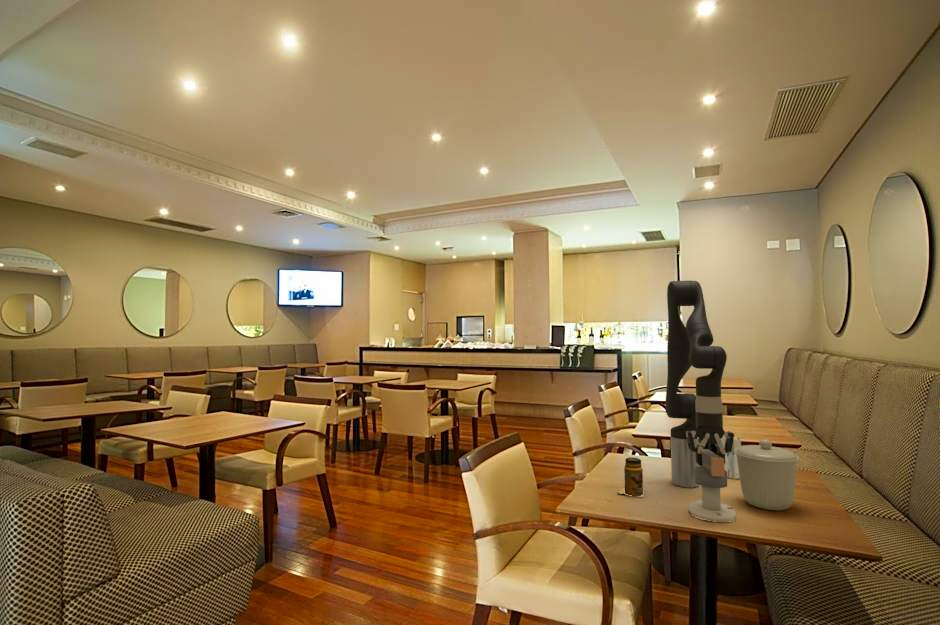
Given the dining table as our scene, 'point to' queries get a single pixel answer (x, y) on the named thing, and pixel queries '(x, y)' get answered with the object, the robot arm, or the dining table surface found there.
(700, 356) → the robot arm
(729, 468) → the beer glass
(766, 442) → the canister
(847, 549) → the dining table surface
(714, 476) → the twist cap
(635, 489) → the condiment
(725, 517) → the post base
